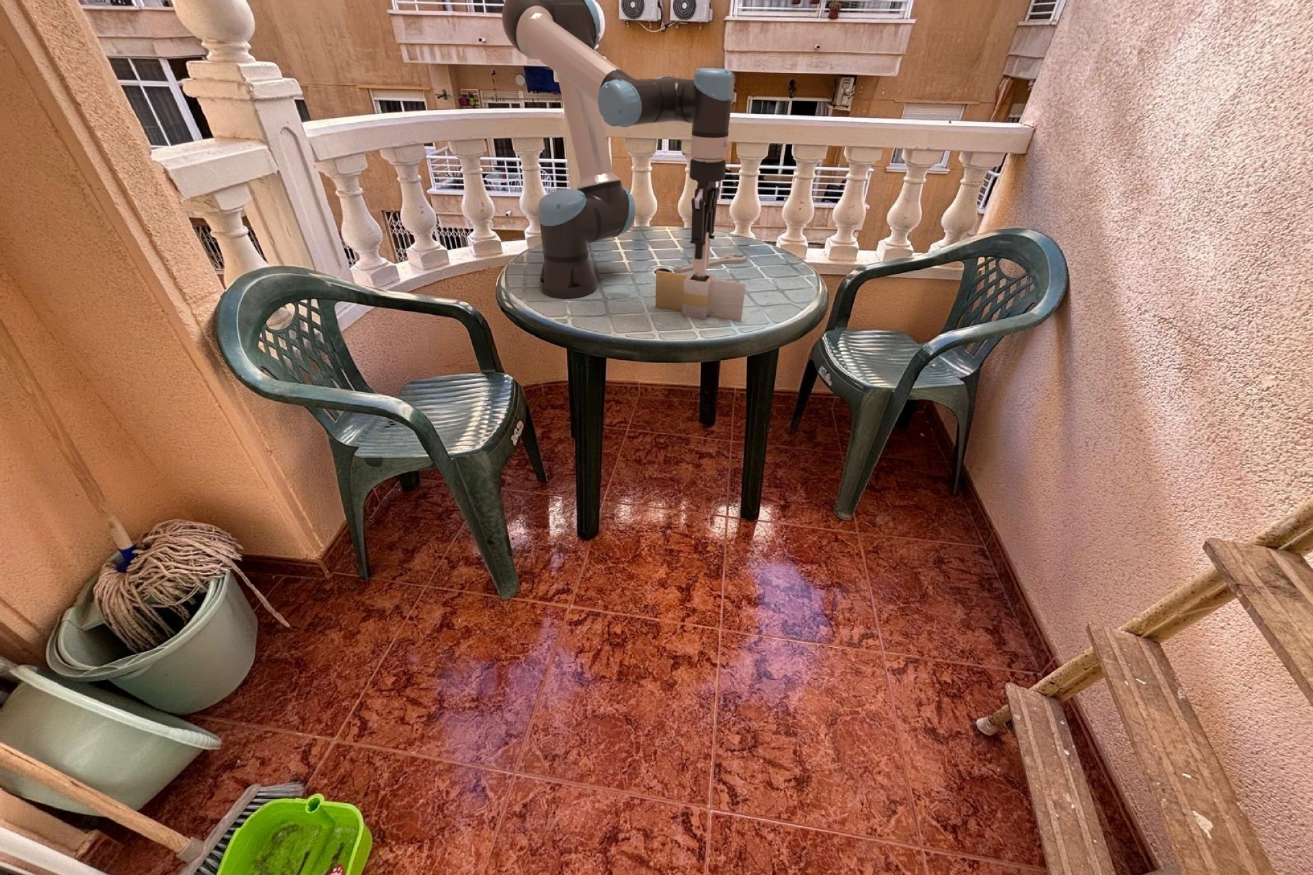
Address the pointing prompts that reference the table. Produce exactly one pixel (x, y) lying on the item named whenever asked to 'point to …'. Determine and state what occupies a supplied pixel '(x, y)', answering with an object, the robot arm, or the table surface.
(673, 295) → the hinge
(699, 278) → the hinge pin
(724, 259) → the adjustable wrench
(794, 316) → the table surface
